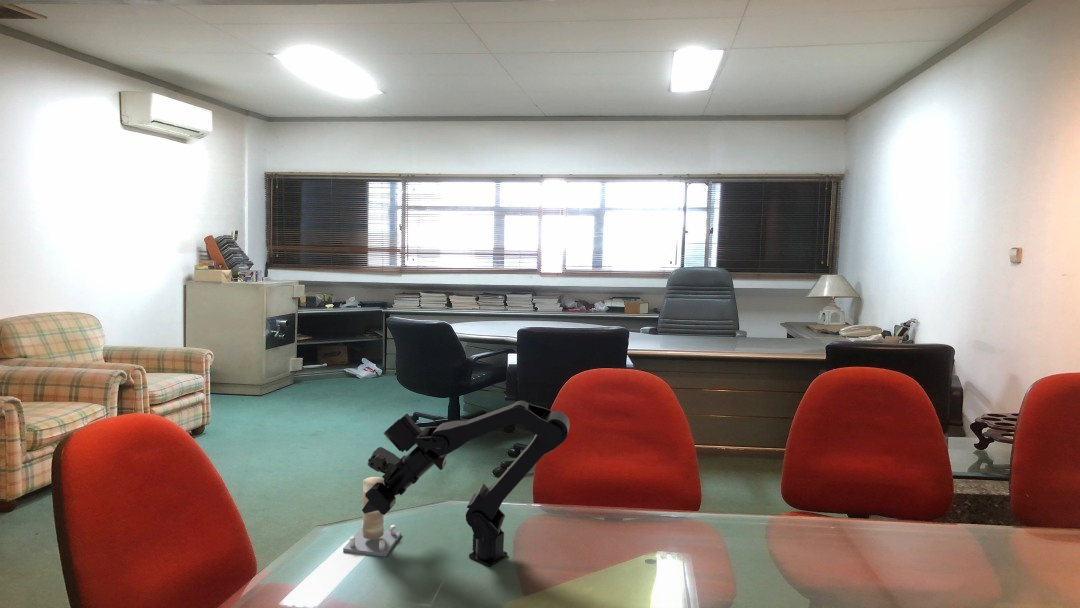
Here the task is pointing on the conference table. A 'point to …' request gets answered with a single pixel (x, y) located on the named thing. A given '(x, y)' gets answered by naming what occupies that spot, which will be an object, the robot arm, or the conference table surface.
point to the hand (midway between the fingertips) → (367, 506)
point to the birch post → (372, 513)
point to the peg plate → (373, 543)
